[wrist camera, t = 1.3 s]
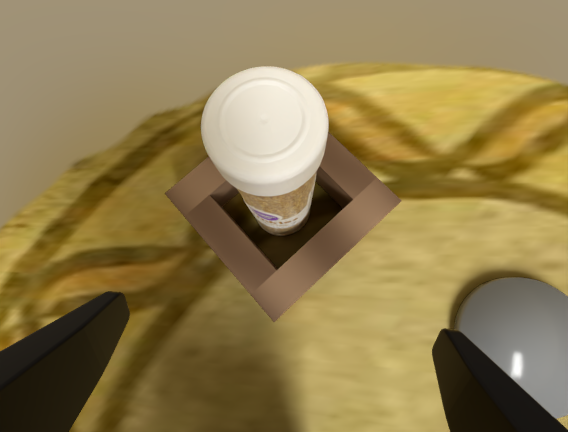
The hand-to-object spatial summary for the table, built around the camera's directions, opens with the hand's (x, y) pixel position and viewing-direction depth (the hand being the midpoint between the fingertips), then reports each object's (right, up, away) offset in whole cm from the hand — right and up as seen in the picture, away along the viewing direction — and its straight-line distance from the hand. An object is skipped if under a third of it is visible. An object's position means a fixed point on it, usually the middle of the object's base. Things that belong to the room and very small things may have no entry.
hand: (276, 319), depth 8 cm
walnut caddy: (0, +4, +15) cm, 15 cm away
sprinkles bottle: (0, +4, +15) cm, 15 cm away
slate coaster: (+17, -6, +12) cm, 21 cm away
